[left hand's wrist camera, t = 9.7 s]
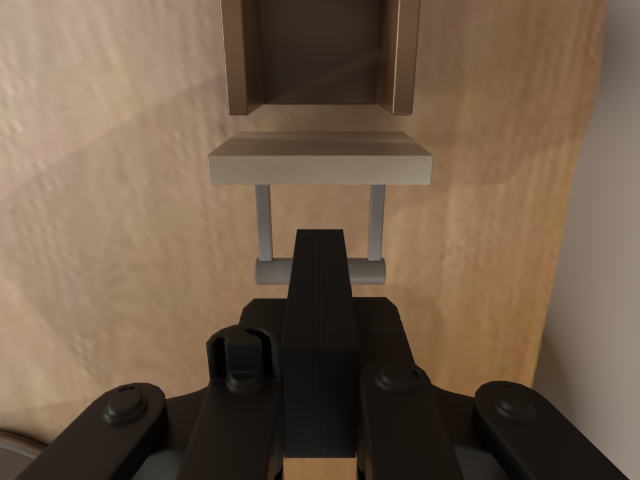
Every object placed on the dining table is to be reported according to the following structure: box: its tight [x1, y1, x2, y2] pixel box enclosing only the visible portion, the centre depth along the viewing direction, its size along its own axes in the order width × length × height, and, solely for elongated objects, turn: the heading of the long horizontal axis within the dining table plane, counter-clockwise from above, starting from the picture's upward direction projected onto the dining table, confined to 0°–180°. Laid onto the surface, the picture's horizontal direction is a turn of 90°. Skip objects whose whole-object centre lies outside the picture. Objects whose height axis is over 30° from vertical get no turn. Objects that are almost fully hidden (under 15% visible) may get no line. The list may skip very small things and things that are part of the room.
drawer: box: [207, 0, 433, 285], centre depth 19 cm, size 22×9×7 cm, turn 0°
